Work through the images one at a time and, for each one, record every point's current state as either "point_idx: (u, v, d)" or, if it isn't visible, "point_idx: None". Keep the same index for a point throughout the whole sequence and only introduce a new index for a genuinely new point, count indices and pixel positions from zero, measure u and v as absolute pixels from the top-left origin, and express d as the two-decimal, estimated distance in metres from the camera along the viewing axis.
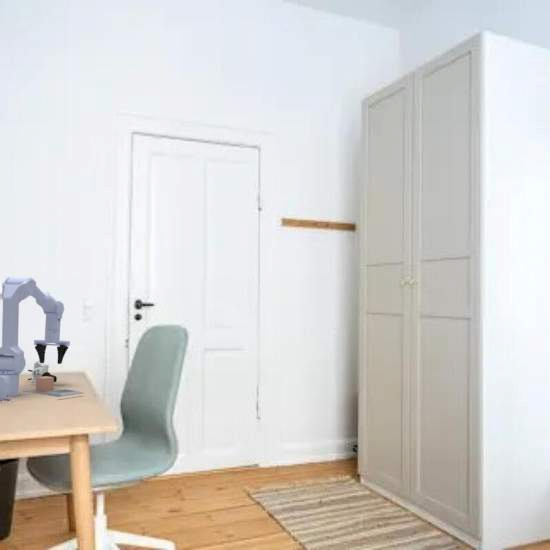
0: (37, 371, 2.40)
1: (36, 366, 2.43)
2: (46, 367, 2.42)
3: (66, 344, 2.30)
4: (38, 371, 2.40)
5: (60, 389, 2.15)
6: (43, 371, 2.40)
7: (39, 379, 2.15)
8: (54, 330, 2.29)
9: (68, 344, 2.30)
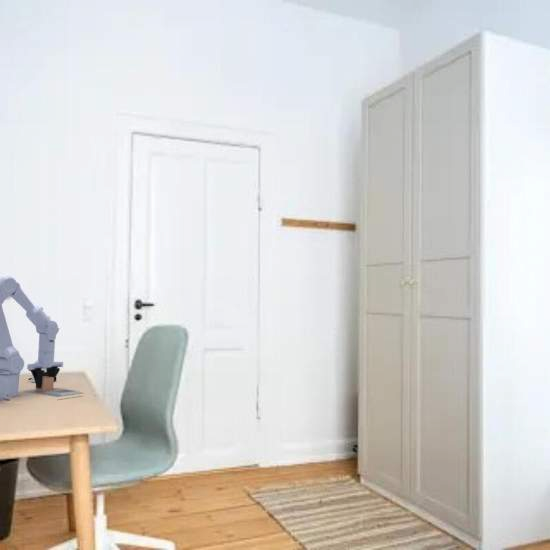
0: None
1: None
2: None
3: (62, 365, 2.22)
4: None
5: (60, 389, 2.15)
6: None
7: None
8: None
9: None
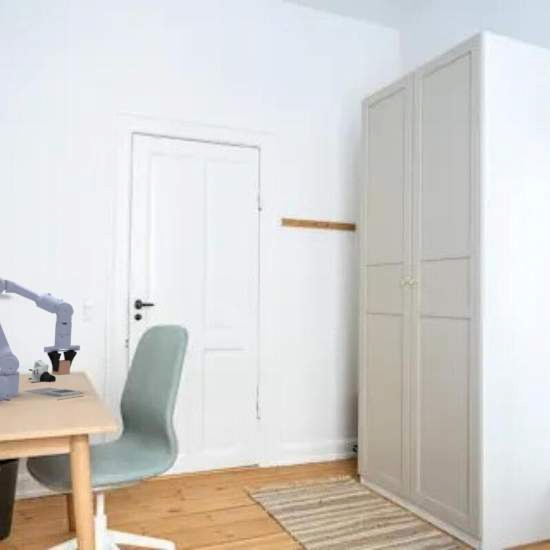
0: (36, 371, 2.42)
1: (36, 366, 2.44)
2: (45, 367, 2.43)
3: (79, 348, 2.18)
4: (37, 371, 2.41)
5: (60, 389, 2.15)
6: (42, 371, 2.41)
7: None
8: (70, 334, 2.13)
9: None
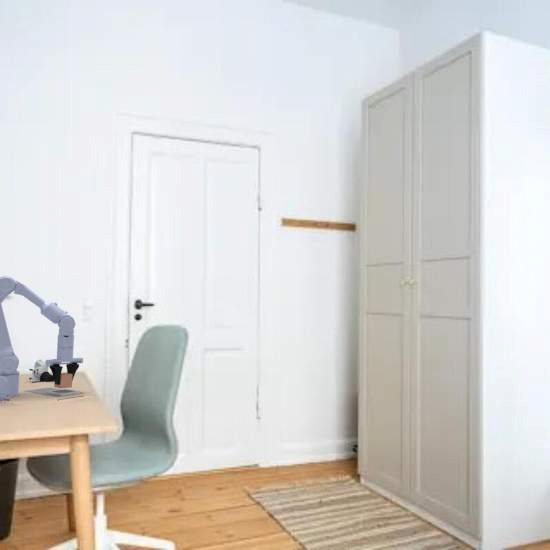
0: (36, 370, 2.42)
1: (36, 365, 2.44)
2: (45, 366, 2.43)
3: (82, 361, 2.16)
4: (37, 370, 2.42)
5: (60, 389, 2.15)
6: (42, 370, 2.41)
7: None
8: None
9: None
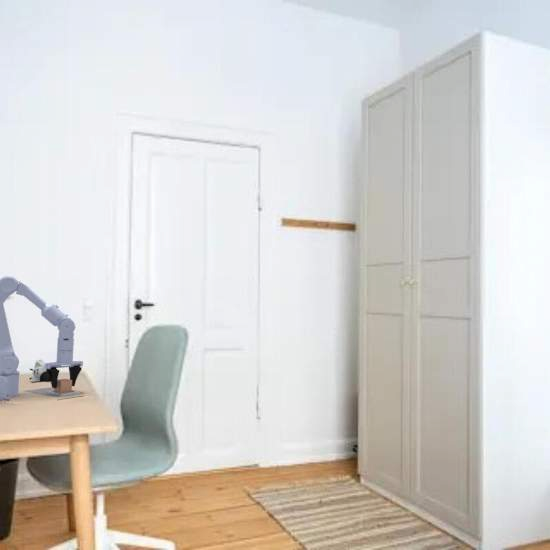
0: (37, 370, 2.42)
1: (36, 365, 2.45)
2: None
3: (81, 364, 2.16)
4: (37, 370, 2.42)
5: None
6: (42, 370, 2.42)
7: (57, 382, 2.10)
8: (72, 350, 2.12)
9: None
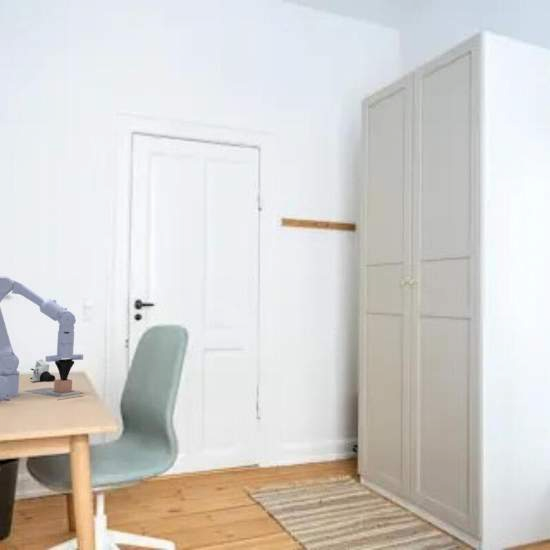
0: (37, 370, 2.43)
1: (37, 365, 2.45)
2: (46, 366, 2.44)
3: (82, 357, 2.16)
4: (38, 370, 2.42)
5: None
6: (42, 370, 2.42)
7: (57, 382, 2.10)
8: (73, 344, 2.12)
9: None
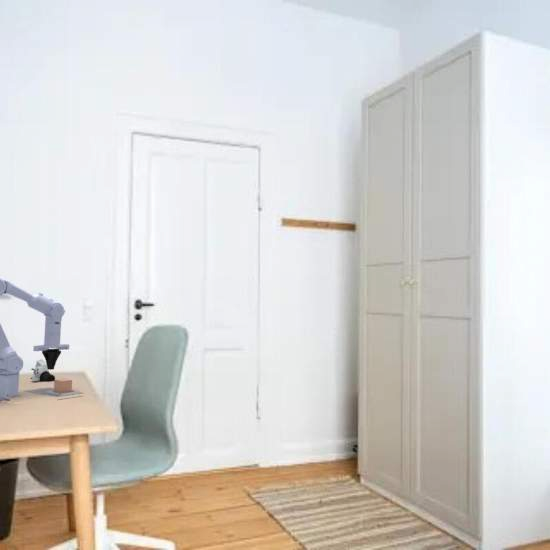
0: (37, 370, 2.43)
1: (37, 365, 2.46)
2: (46, 366, 2.44)
3: (68, 347, 2.22)
4: (37, 370, 2.43)
5: None
6: (42, 370, 2.43)
7: (57, 382, 2.10)
8: (60, 334, 2.18)
9: None
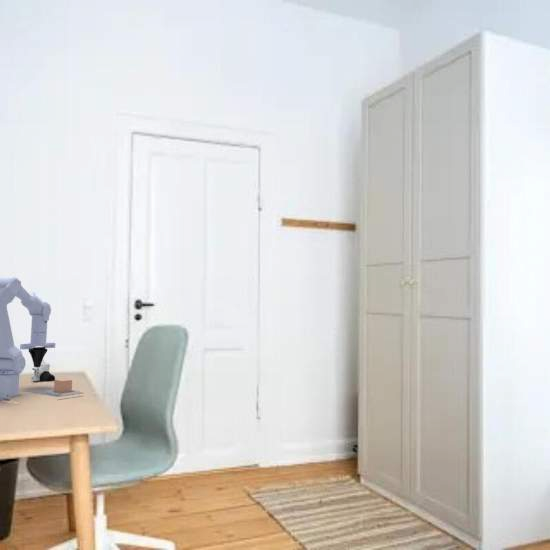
0: (37, 370, 2.44)
1: None
2: (46, 366, 2.45)
3: (54, 346, 2.27)
4: (38, 370, 2.43)
5: None
6: (42, 370, 2.43)
7: (57, 382, 2.10)
8: (46, 332, 2.23)
9: None
